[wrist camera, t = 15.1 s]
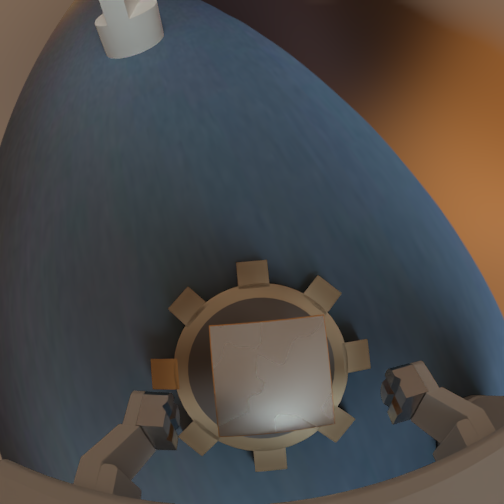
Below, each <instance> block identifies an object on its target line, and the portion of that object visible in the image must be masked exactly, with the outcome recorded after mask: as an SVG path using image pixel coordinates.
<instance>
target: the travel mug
mask: <svg viewBox="0 0 504 504" xmlns="http://www.w3.org/2000/svg"><path fill="white" fill-rule="evenodd" d="M463 399H465V400H467V401H469V402H471V403H473V404H475V405H477V406H478V407H480V408H482V409H483V410H484V411H485V413H486V415H487V416H488V418H489V420H490V421H491V423H492V425H493V427H494V428H495V430H497V429H499V428H501V427H502V426H504V396H485V395H470V396H467V397H465V398H463ZM437 444H438V446H439V445H440V444H441V443H439V442H437Z"/></svg>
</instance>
